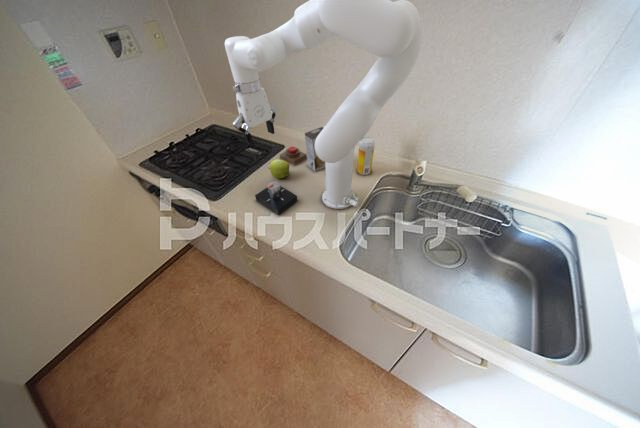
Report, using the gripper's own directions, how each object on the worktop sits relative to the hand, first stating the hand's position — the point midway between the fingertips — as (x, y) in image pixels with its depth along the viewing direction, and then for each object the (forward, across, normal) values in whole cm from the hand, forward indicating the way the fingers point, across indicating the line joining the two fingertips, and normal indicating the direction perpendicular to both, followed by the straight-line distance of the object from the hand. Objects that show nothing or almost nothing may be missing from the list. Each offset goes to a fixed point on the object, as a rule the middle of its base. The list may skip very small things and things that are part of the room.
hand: (260, 137), depth 85 cm
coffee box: (+22, +23, -6) cm, 32 cm away
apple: (+22, +6, +2) cm, 22 cm away
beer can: (+22, +32, -25) cm, 46 cm away
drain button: (+18, +20, +8) cm, 28 cm away
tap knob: (+18, -6, -10) cm, 21 cm away
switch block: (+21, +20, +8) cm, 30 cm away
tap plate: (+21, -6, -10) cm, 24 cm away
